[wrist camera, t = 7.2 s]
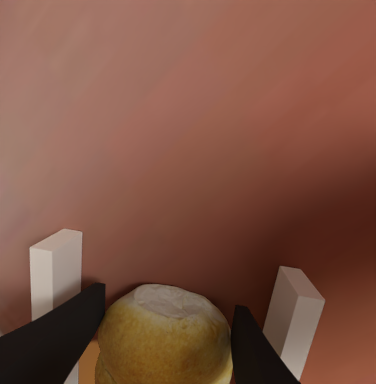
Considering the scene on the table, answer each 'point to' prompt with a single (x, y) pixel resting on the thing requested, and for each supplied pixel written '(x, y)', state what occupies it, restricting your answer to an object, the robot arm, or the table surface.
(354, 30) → the table surface
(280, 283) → the pocket
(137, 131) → the table surface
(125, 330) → the bread roll
